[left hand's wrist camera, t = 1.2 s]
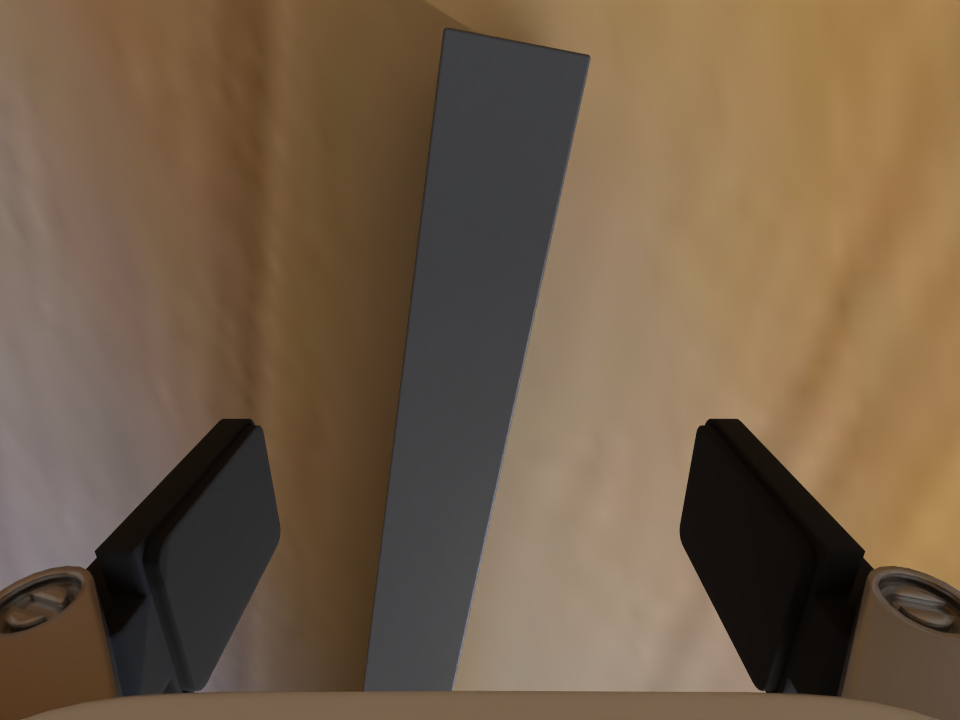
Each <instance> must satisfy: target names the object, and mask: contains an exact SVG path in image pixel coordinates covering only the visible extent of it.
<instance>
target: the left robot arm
mask: <svg viewBox="0 0 960 720" xmlns="http://www.w3.org/2000/svg"><path fill="white" fill-rule="evenodd" d="M279 538H280V523H279V517H278V512H277V506H276V500H275V495H274V489H273V483H272V478H271V472H270V466H269V461H268V455H267V450H266V444H265V438H264V433H263V429H262V427H261V426H255V424H254V422H253V421H252V420H251V419H222V420H220V421H219V422H218V423H217V424H216V425H215V426H214V427H213V428H212V429H211V431H210V432H209V433H208V434H207V435H206V436H205V437H204V438H203V439H202V440H201V441H200V442H199V443H198V444H197V445H196V446H195V447H194V448H193V449H192V450H191V451H190V452H189V453H188V455H187V456H186V457H185V458H184V459H183V460H182V461H181V462H180V463H179V464H178V465H177V466H176V467H175V468H174V469H173V470H172V471H171V472H170V473H169V474H168V475H167V476H166V477H165V479H164V480H163V481H162V482H161V483H160V484H159V485H158V486H157V487H156V488H155V489H154V490H153V491H152V492H151V493H150V494H149V495H148V496H147V497H146V498H145V499H144V500H143V501H142V503H141V504H140V505H139V506H138V507H137V508H136V509H135V510H134V511H133V512H132V513H131V514H130V515H129V516H128V517H127V518H126V519H125V520H124V521H123V522H122V523H121V524H120V525H119V527H118V528H117V529H116V530H115V531H114V532H113V533H112V534H111V535H110V536H109V537H108V538H107V539H106V540H105V541H104V542H103V543H102V544H101V545H100V546H99V547H98V548H97V549H96V551H95V553H96V556H97V558H96V559H95V560H94V561H93V562H92V563H91V565H90V566H89V567H88V568H87V569H84V568H81V567H75V566H64V567H57V568H51V569H47V570H44V571H41V572H38V573H34V574H32V575H30V576H27V577H25V578H23V579H21V580H19V581H16V582H15V583H13V584H11V585H10V586H8V587H6V588H5V589H3V590H2V591H0V720H960V591H958V590H957V589H955V588H954V587H952V586H950V585H949V584H947V583H945V582H944V581H941V580H939V579H937V578H935V577H933V576H930V575H928V574H926V573H922V572H919V571H916V570H913V569H909V568H903V567H896V566H885V567H879V568H876V569H873V568H872V567H871V566H870V565H869V563H868V562H867V561H866V560H865V559H864V558H863V556H864V553H865V551H864V549H863V548H862V547H861V546H860V545H859V544H858V543H857V542H856V541H855V540H854V539H853V538H852V537H851V536H850V535H849V534H848V533H847V532H846V531H845V530H844V529H843V528H842V527H841V525H840V524H839V523H838V522H837V521H836V520H835V519H834V518H833V517H832V516H831V515H830V514H829V513H828V512H827V511H826V510H825V509H824V508H823V507H822V506H821V505H820V504H819V503H818V501H817V500H816V499H815V498H814V497H813V496H812V495H811V494H810V493H809V492H808V491H807V490H806V489H805V488H804V487H803V486H802V485H801V484H800V483H799V482H798V481H797V480H796V479H795V477H794V476H793V475H792V474H791V473H790V472H789V471H788V470H787V469H786V468H785V467H784V466H783V465H782V464H781V463H780V462H779V461H778V460H777V459H776V458H775V457H774V456H773V455H772V453H771V452H770V451H769V450H768V449H767V448H766V447H765V446H764V445H763V444H762V443H761V442H760V441H759V440H758V439H757V438H756V437H755V436H754V435H753V434H752V433H751V432H750V431H749V429H748V428H747V427H746V426H745V425H744V424H743V423H742V422H741V421H740V420H738V419H709V420H708V421H707V422H706V424H705V426H699V427H698V429H697V433H696V438H695V444H694V449H693V455H692V461H691V466H690V472H689V478H688V483H687V489H686V495H685V500H684V506H683V512H682V517H681V523H680V538H681V542H682V545H683V547H684V549H685V551H686V553H687V555H688V557H689V559H690V561H691V562H692V564H693V566H694V568H695V570H696V572H697V574H698V576H699V578H700V580H701V582H702V584H703V586H704V588H705V590H706V592H707V594H708V596H709V598H710V600H711V602H712V604H713V605H714V607H715V609H716V611H717V613H718V615H719V617H720V619H721V621H722V623H723V625H724V627H725V629H726V631H727V633H728V635H729V637H730V639H731V641H732V643H733V645H734V646H735V648H736V650H737V652H738V654H739V656H740V658H741V660H742V662H743V664H744V666H745V668H746V670H747V672H748V674H749V676H750V678H751V680H752V682H753V683H754V685H755V686H756V688H757V689H758V690H761V691H766V693H751V692H588V691H372V692H209V693H194V691H199V690H202V689H203V688H204V686H205V685H206V683H207V682H208V680H209V678H210V676H211V674H212V672H213V670H214V668H215V666H216V664H217V662H218V660H219V658H220V656H221V654H222V652H223V650H224V648H225V646H226V645H227V643H228V641H229V639H230V637H231V635H232V633H233V631H234V629H235V627H236V625H237V623H238V621H239V619H240V617H241V615H242V613H243V611H244V609H245V607H246V605H247V604H248V602H249V600H250V598H251V596H252V594H253V592H254V590H255V588H256V586H257V584H258V582H259V580H260V578H261V576H262V574H263V572H264V570H265V568H266V566H267V564H268V562H269V561H270V559H271V557H272V555H273V553H274V551H275V549H276V547H277V545H278V542H279Z"/></svg>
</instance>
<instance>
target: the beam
mask: <svg viewBox="0 0 960 720" xmlns="http://www.w3.org/2000/svg"><path fill="white" fill-rule="evenodd" d="M589 63H590V56H589V55H586V54H581V53H576V52H571V51H566V50H561V49H555V48H550V47H545V46H540V45H535V44H530V43H524V42H519V41H514V40H509V39H504V38H499V37H494V36H488V35H483V34H478V33H473V32H468V31H463V30H457V29H452V28H445V29H444V31H443V39H442V47H441V55H440V63H439V72H438V80H437V88H436V96H435V104H434V113H433V121H432V129H431V137H430V145H429V153H428V162H427V170H426V178H425V186H424V194H423V203H422V211H421V219H420V227H419V235H418V244H417V252H416V260H415V268H414V276H413V284H412V293H411V301H410V309H409V317H408V325H407V334H406V342H405V350H404V358H403V366H402V375H401V383H400V391H399V399H398V407H397V415H396V424H395V432H394V440H393V448H392V456H391V465H390V473H389V481H388V489H387V497H386V506H385V514H384V522H383V530H382V538H381V546H380V555H379V563H378V571H377V579H376V587H375V596H374V604H373V612H372V620H371V628H370V637H369V645H368V653H367V661H366V669H365V677H364V686H363V692H372V691H453V687H454V683H455V678H456V674H457V669H458V664H459V660H460V655H461V651H462V646H463V641H464V637H465V632H466V628H467V623H468V618H469V614H470V609H471V605H472V600H473V596H474V591H475V586H476V582H477V577H478V573H479V568H480V563H481V559H482V554H483V550H484V545H485V540H486V536H487V531H488V527H489V522H490V518H491V513H492V508H493V504H494V499H495V495H496V490H497V485H498V481H499V476H500V472H501V467H502V463H503V458H504V453H505V449H506V444H507V440H508V435H509V430H510V426H511V421H512V417H513V412H514V407H515V403H516V398H517V394H518V389H519V385H520V380H521V375H522V371H523V366H524V362H525V357H526V352H527V348H528V343H529V339H530V334H531V329H532V325H533V320H534V316H535V311H536V307H537V302H538V297H539V293H540V288H541V284H542V279H543V274H544V270H545V265H546V261H547V256H548V251H549V247H550V242H551V238H552V233H553V229H554V224H555V219H556V215H557V210H558V206H559V201H560V196H561V192H562V187H563V183H564V178H565V173H566V169H567V164H568V160H569V155H570V151H571V146H572V141H573V137H574V132H575V128H576V123H577V118H578V114H579V109H580V105H581V100H582V95H583V91H584V86H585V82H586V77H587V73H588V68H589Z"/></svg>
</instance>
